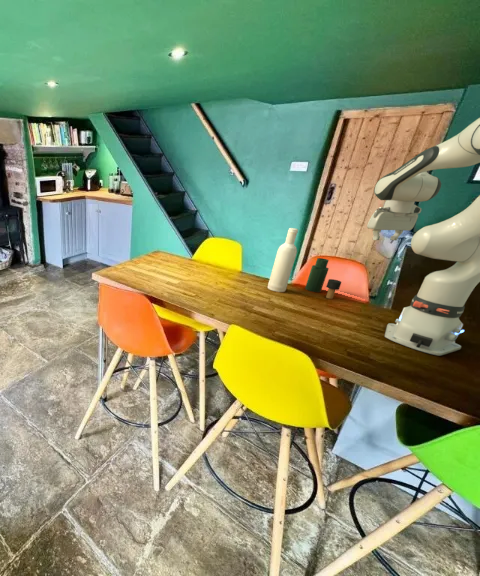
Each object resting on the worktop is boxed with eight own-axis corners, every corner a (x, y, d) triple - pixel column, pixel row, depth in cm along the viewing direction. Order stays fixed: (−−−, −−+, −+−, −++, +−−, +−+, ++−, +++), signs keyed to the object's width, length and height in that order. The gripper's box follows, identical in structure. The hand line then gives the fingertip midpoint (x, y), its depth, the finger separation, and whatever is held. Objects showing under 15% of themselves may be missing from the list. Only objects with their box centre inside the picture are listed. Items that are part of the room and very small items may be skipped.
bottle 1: (286, 293, 143) (305, 230, 133) (267, 290, 146) (284, 228, 136) (284, 288, 150) (302, 228, 140) (266, 285, 153) (282, 226, 143)
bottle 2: (317, 293, 147) (327, 261, 141) (302, 288, 152) (312, 258, 146) (323, 291, 150) (333, 260, 145) (308, 287, 155) (318, 257, 150)
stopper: (332, 300, 138) (339, 283, 135) (321, 296, 142) (326, 279, 139) (337, 298, 141) (343, 281, 138) (325, 295, 144) (331, 278, 141)
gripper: (385, 208, 122) (371, 241, 127) (425, 209, 126) (410, 242, 131) (369, 206, 128) (357, 238, 133) (408, 207, 131) (395, 238, 136)
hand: (384, 240), depth 132 cm, fingers open, 8 cm apart
